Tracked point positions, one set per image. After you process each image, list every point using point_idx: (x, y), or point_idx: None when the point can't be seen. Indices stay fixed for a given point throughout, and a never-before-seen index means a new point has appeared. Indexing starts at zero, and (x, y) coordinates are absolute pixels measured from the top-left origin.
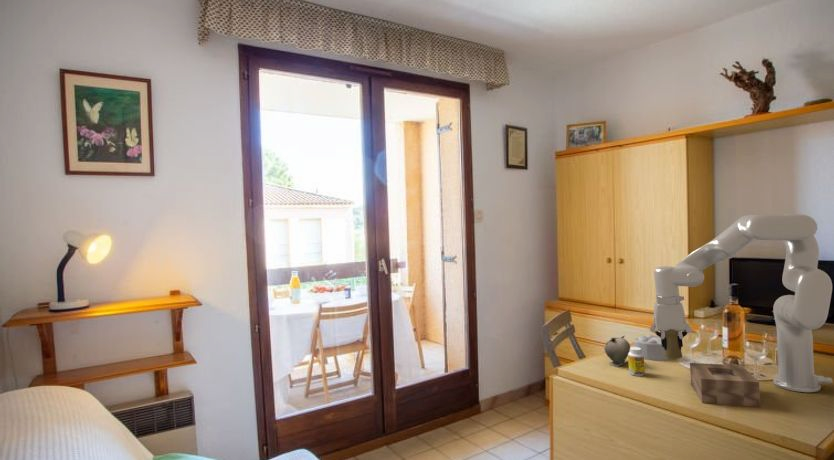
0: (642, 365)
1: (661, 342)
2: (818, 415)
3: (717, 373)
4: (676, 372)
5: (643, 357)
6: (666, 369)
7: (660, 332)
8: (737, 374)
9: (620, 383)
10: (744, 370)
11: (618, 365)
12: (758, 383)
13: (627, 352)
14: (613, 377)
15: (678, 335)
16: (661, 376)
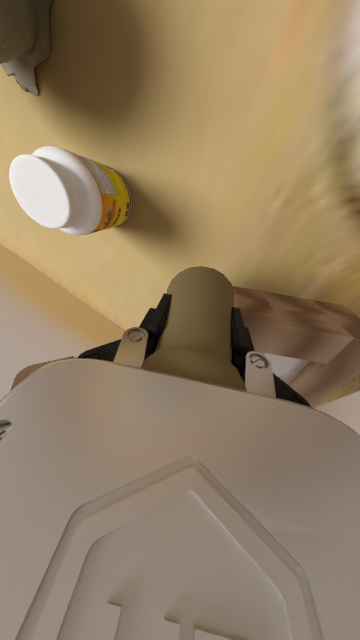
0: (113, 223)
1: (145, 319)
2: (340, 393)
3: (278, 355)
4: (246, 169)
5: (103, 218)
6: (225, 120)
7: (119, 360)
8: (300, 389)
9: (78, 279)
10: (347, 375)
11: (29, 75)
12: None
13: (8, 41)
14: (53, 236)
15: (241, 373)
16: (180, 222)
